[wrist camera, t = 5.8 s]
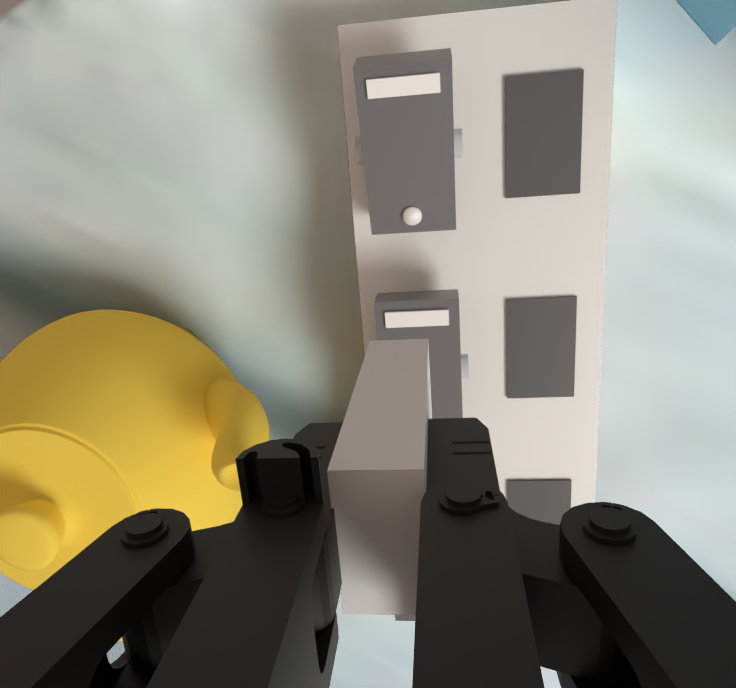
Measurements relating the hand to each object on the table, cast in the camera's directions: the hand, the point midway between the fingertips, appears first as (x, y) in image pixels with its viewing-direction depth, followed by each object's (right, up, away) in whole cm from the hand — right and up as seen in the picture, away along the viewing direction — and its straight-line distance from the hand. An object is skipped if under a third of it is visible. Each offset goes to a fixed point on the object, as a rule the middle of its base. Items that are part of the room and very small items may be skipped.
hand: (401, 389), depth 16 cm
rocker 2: (+1, 0, +9) cm, 9 cm away
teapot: (-12, -3, +17) cm, 21 cm away
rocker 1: (+1, +8, +6) cm, 10 cm away
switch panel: (+4, +2, +14) cm, 14 cm away
